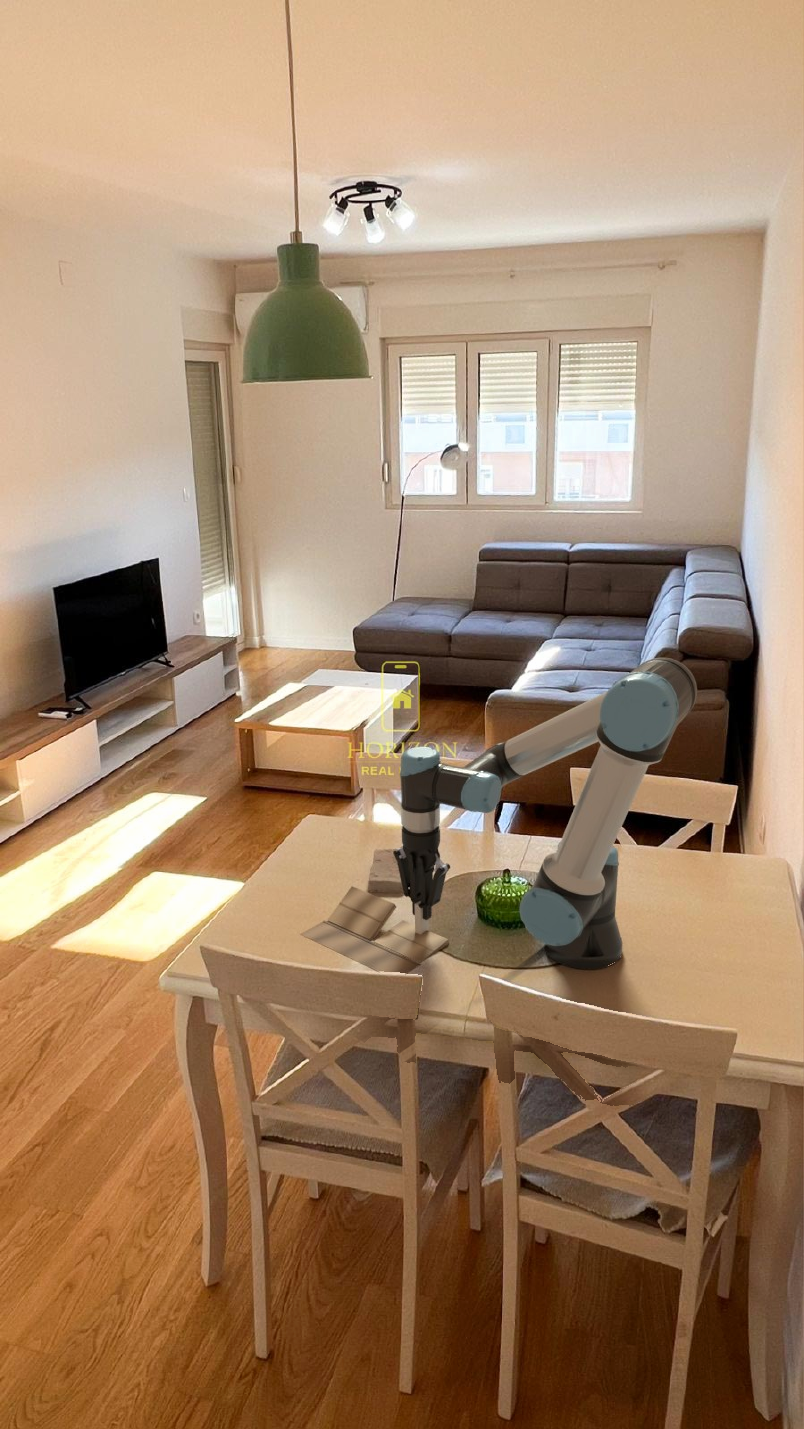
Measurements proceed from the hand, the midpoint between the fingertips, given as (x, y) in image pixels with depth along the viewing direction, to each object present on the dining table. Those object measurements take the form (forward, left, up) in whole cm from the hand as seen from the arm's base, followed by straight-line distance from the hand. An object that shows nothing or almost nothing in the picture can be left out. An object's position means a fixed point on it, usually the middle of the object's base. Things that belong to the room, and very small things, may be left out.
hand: (422, 930), depth 201 cm
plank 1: (+13, +4, +1) cm, 13 cm away
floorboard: (+6, +12, -2) cm, 14 cm away
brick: (+22, -15, -3) cm, 27 cm away
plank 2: (0, +4, -2) cm, 4 cm away
